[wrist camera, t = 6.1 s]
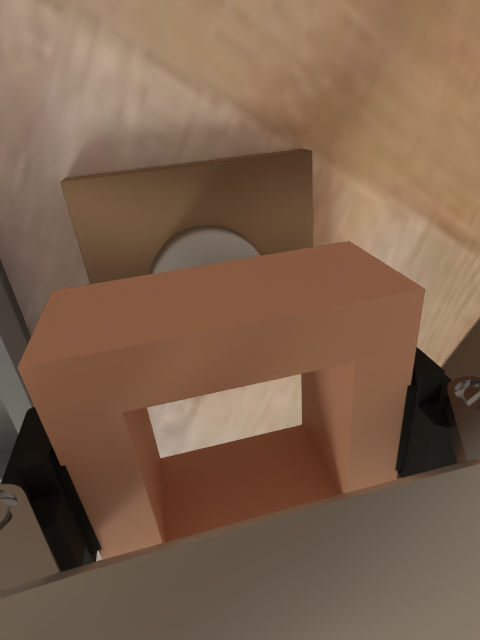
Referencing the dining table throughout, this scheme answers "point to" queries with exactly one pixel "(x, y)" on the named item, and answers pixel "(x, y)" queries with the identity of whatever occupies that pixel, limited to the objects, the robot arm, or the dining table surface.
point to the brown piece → (191, 213)
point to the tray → (11, 371)
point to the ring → (224, 386)
